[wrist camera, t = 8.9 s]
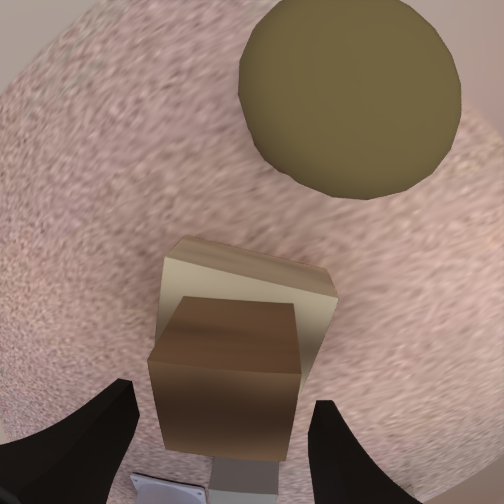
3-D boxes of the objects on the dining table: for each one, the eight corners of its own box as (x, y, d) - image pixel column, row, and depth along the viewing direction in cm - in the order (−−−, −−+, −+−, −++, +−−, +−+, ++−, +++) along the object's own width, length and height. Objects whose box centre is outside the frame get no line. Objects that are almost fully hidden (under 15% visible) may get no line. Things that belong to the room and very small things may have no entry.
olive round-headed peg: (227, 143, 16) (145, 132, 5) (285, 47, 14) (301, -89, 3) (329, 201, 16) (417, 289, 6) (384, 107, 14) (527, 67, 4)
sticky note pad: (287, 375, 20) (288, 417, 16) (170, 348, 20) (151, 386, 16) (325, 267, 18) (339, 298, 14) (187, 234, 18) (164, 256, 14)
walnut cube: (283, 386, 16) (285, 461, 11) (189, 379, 16) (165, 449, 11) (293, 303, 14) (301, 374, 9) (183, 295, 14) (147, 360, 10)
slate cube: (273, 475, 24) (271, 518, 19) (219, 470, 24) (211, 513, 20) (278, 445, 22) (278, 494, 18) (217, 441, 23) (208, 489, 18)
